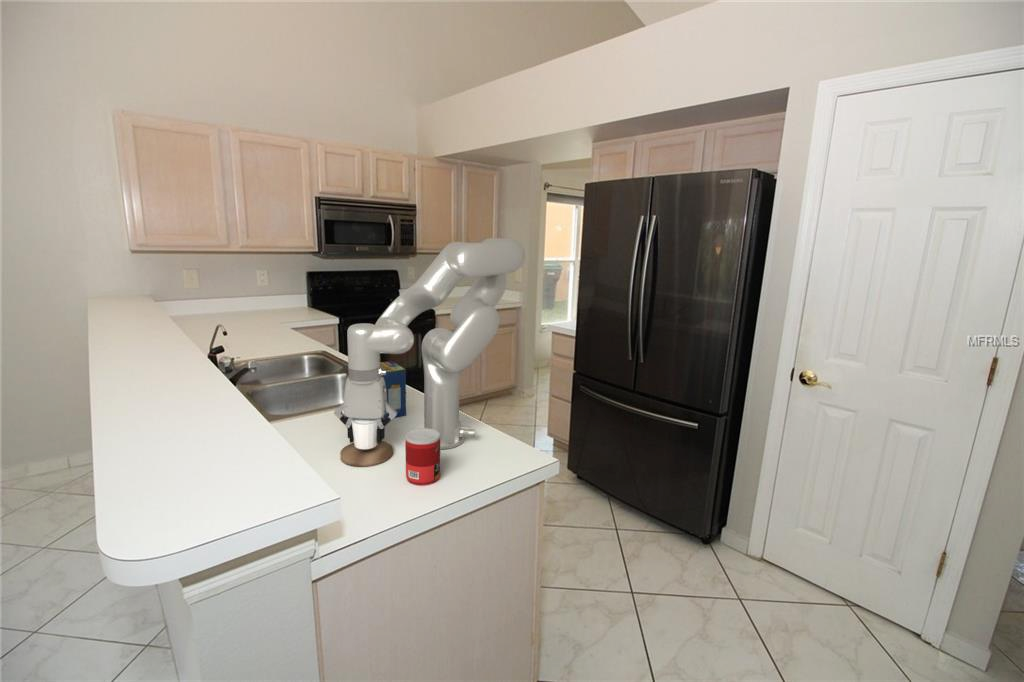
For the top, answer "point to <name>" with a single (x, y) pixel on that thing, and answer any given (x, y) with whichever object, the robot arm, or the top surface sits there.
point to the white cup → (365, 433)
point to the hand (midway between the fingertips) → (366, 440)
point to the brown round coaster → (366, 455)
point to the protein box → (393, 387)
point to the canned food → (422, 456)
